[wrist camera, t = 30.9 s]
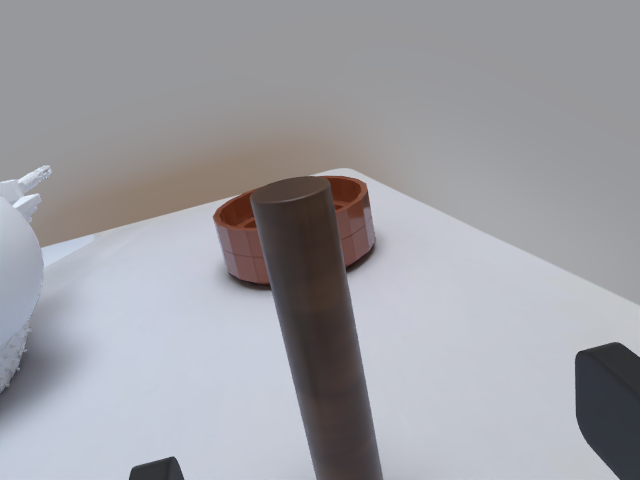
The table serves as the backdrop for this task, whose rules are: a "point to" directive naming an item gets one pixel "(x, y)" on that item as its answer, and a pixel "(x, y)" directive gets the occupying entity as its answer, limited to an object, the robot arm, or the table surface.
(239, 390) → the table surface
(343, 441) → the stick
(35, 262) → the tracked sphere vehicle
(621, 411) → the robot arm
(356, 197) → the bowl
